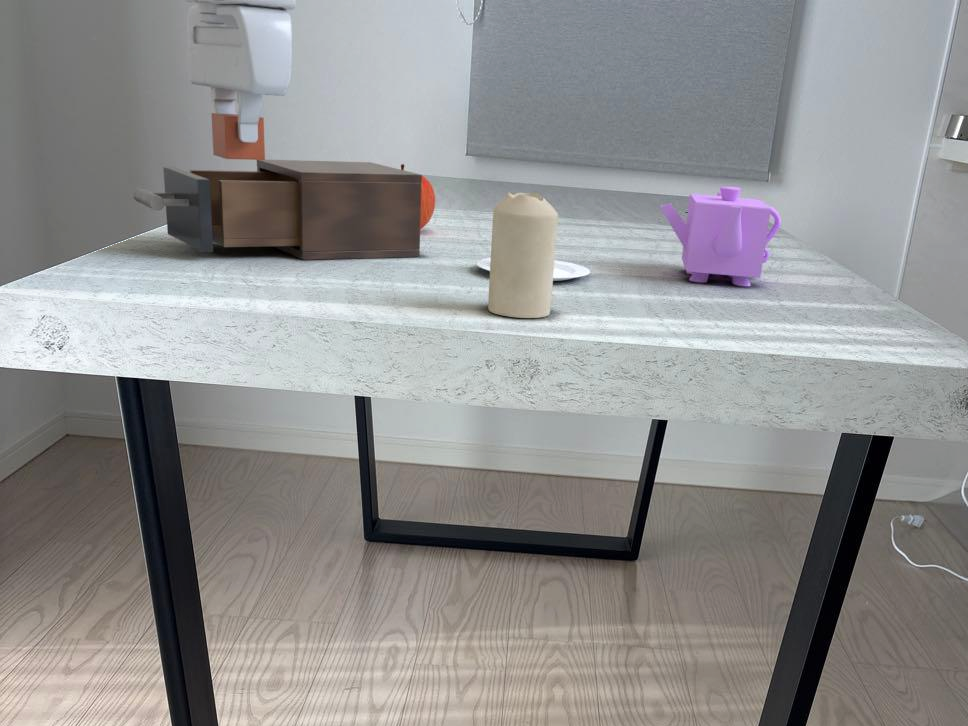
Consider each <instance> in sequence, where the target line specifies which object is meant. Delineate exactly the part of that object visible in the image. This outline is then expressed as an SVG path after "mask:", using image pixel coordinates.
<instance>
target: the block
mask: <svg viewBox="0 0 968 726" xmlns="http://www.w3.org/2000/svg"><path fill="white" fill-rule="evenodd" d="M235 122H238V113H236V114H222V113H215V112H211V134H212V135H211V136H212V153H213V156H216V157H219V158H222V159H225V160H252V161H254V160H255V161H257V160H266V152H265V149H266V148H265V119H264V117H263V116H262V117H261V116H260V117H259V121H258V140H257V141H256V142H254V143H251V142H241V141H239V140H237V138H236V130H235Z"/></svg>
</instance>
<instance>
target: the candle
mask: <svg viewBox="0 0 968 726" xmlns="http://www.w3.org/2000/svg"><path fill="white" fill-rule="evenodd" d="M558 221H559V213H558V211H557V210H556V209H555V208H554V207H553V205H551V204H550V203H549V202H548V201H547V200H546V199H545V198H544V197H543V196H541V195H540V194H539V193H537V192H531V193H530V192H529V193H527V192H517V193H515V194H512V193H511V192H507V194H506V195H505V196H504V197H503V198H502V199H501V201H500V202H498V204H497V205H496V206H495V207H494V208H493V210H492V225H491V226H492V228H491V244H490V245H491V248H490V258H491V262H490V272H489V281H488V301H487V303H488V304H487V306H488V307H487V308H488V311H489V312H490V313H493V314H495V315H499V316H502V317H503V316H505V317H508V318H518V319H519V318H520V319H538V318H539V319H540V318H545V317H547V316H549V315H550V313H551V308H552V296H553V284H554V283H553V282H554V281H553V273H554V260H556V246H557V233H558Z"/></svg>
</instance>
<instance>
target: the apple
mask: <svg viewBox="0 0 968 726" xmlns="http://www.w3.org/2000/svg"><path fill="white" fill-rule="evenodd" d="M400 170H404V171H405V164H404V163H401V164H400ZM421 183H422V184H421V220H420V230H421V229H423V228H424V227H425V226H426V225H428V223H429V222H430V220H431V219H432V216H433V215H434V211H435V206H436V194H435V190H434V187H433V185H432V183H431V182H430V181H429V179H428V178H426V176H424V175H422V182H421Z"/></svg>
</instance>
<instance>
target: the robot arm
mask: <svg viewBox="0 0 968 726" xmlns="http://www.w3.org/2000/svg"><path fill="white" fill-rule="evenodd" d="M184 1H185V2H187V3H191V4H195V5H192V6H190V7H189V10H188V11H187V18H186V68H187V75H188V78H189V81H190V83H191V84H192V85H196V86H202V87H208V88H210V97H211V98H210V99H211V102H212V106H213V110H214V113H222V114H238V122H235V130H236V138H237V140H239V141H241V142H251V143H254V142H256V141H257V140H258V121H259V117H261V113H262V109H263V96H273V97H274V96H277V97H278V96H279V97H284V96H286V95H287V94H288V90H289V88H290V84H291V81H292V66H293V65H292V63H293V23H292V17H291V15H290V13H289V11H292V10H294V9H295V8H296V6H297V5H296V4H297V3H296V2H297V0H184ZM235 101H236V104H237V105H238V109H237V111H236V105H235ZM236 112H237V113H236Z"/></svg>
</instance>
